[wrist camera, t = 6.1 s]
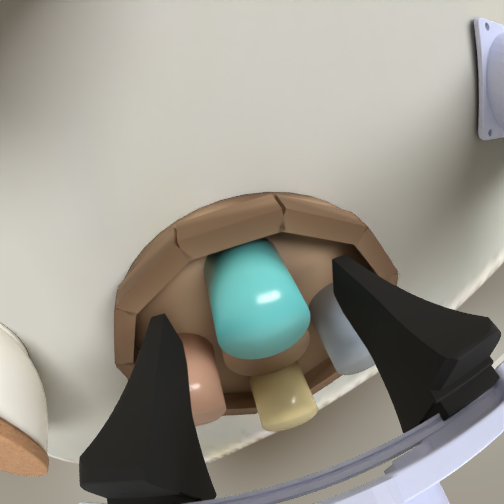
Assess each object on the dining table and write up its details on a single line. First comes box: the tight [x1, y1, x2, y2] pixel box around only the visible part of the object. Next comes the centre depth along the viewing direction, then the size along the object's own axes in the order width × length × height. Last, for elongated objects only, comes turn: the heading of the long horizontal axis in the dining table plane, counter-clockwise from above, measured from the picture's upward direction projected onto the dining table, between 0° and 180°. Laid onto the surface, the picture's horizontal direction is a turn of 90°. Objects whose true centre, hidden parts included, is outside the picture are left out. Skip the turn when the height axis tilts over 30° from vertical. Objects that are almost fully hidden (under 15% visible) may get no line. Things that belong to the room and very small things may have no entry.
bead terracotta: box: [177, 333, 226, 426], centre depth 15 cm, size 4×4×4 cm
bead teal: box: [204, 237, 310, 359], centre depth 13 cm, size 4×4×4 cm
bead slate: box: [308, 283, 375, 375], centre depth 16 cm, size 4×4×4 cm
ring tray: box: [114, 192, 398, 416], centre depth 17 cm, size 16×16×2 cm
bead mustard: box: [248, 360, 318, 431], centre depth 18 cm, size 4×4×4 cm
